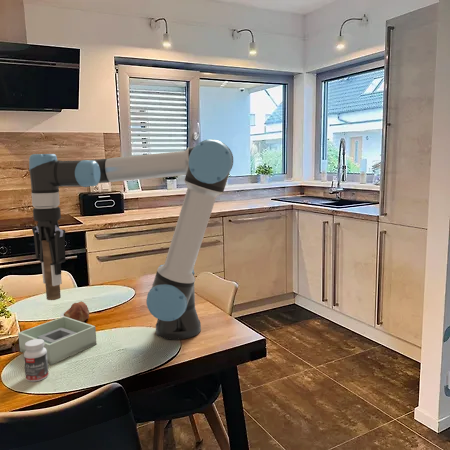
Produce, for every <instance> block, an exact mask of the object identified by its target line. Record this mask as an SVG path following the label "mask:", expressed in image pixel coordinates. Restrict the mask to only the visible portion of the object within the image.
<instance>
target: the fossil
mask: <svg viewBox="0 0 450 450" xmlns="http://www.w3.org/2000/svg"><path fill="white" fill-rule="evenodd" d="M63 316H65V317H68V318H71V319H74V320H77V321H80V322H84V323H85V321H86V320H87V319H89V318H90V311H89V307H88V305H87V304H86V303H85V302H84V301H78V302H74V303H72V305H71V306H70V307H69V308H68V309H67V310H65V312H64V313H63Z"/></svg>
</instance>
